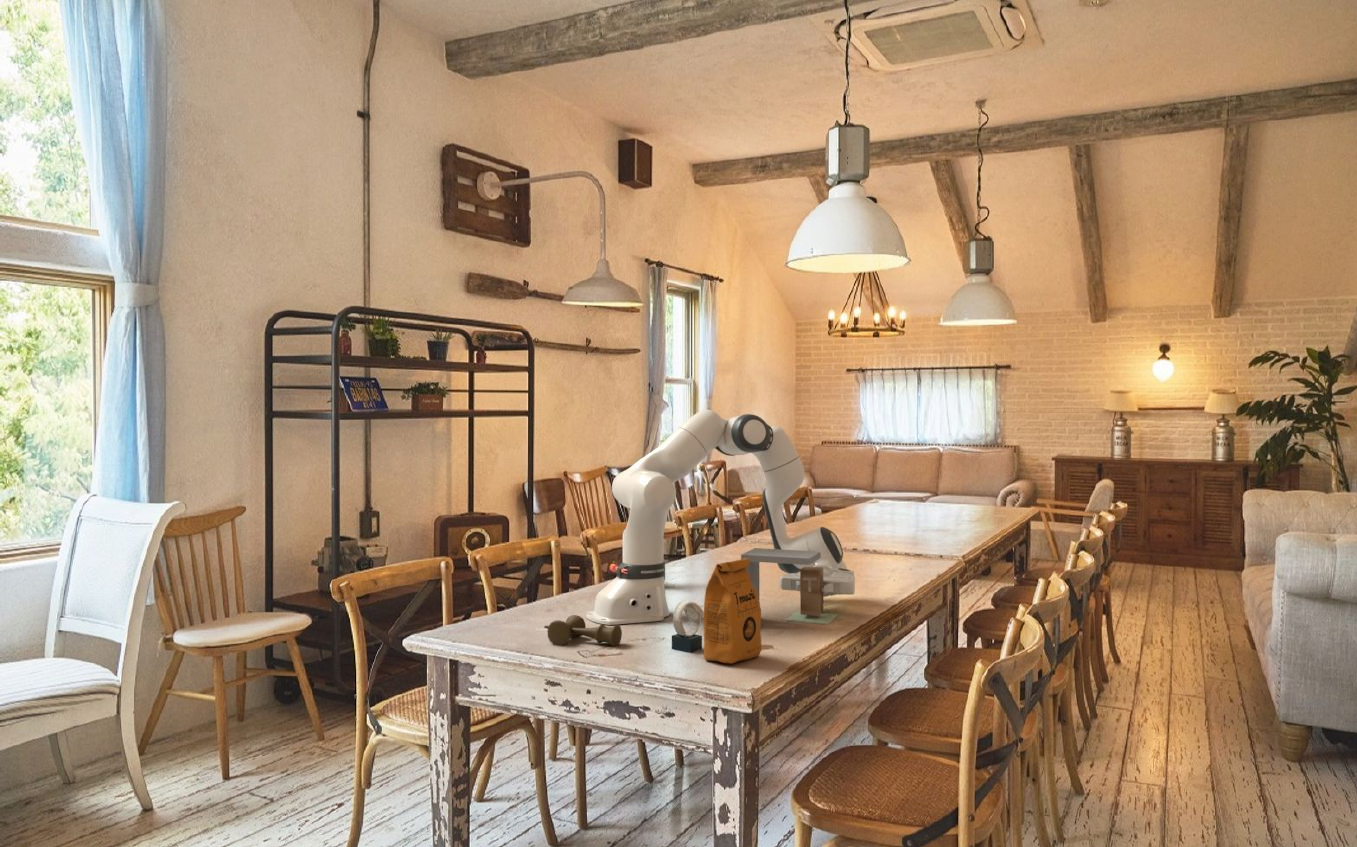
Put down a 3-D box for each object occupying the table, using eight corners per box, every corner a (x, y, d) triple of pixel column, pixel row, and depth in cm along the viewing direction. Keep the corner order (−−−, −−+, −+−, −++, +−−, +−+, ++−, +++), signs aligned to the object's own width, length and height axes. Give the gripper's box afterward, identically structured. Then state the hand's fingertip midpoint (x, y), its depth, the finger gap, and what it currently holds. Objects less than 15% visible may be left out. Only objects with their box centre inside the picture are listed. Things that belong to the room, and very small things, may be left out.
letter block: (805, 610, 254) (804, 566, 253) (823, 612, 252) (823, 567, 252) (800, 614, 249) (800, 569, 249) (819, 616, 247) (818, 570, 247)
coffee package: (768, 658, 211) (768, 559, 210) (730, 669, 202) (730, 566, 202) (735, 650, 218) (735, 554, 217) (697, 660, 209) (697, 561, 209)
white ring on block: (707, 647, 220) (707, 600, 220) (685, 654, 214) (685, 606, 214) (688, 643, 224) (688, 597, 224) (666, 650, 218) (666, 602, 217)
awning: (755, 617, 251) (755, 548, 251) (820, 623, 244) (820, 551, 244) (741, 627, 240) (741, 554, 240) (809, 633, 233) (809, 558, 233)
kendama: (609, 653, 218) (533, 643, 225) (626, 644, 227) (553, 635, 234) (610, 627, 218) (534, 617, 225) (627, 619, 227) (554, 610, 234)
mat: (796, 612, 258) (796, 611, 258) (836, 615, 253) (836, 614, 253) (786, 621, 247) (786, 619, 247) (827, 624, 243) (827, 623, 243)
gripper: (786, 566, 266) (773, 574, 253) (859, 570, 259) (849, 579, 246) (786, 588, 266) (773, 598, 253) (859, 593, 259) (849, 603, 246)
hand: (811, 589), depth 249 cm, fingers closed on letter block, 5 cm apart
